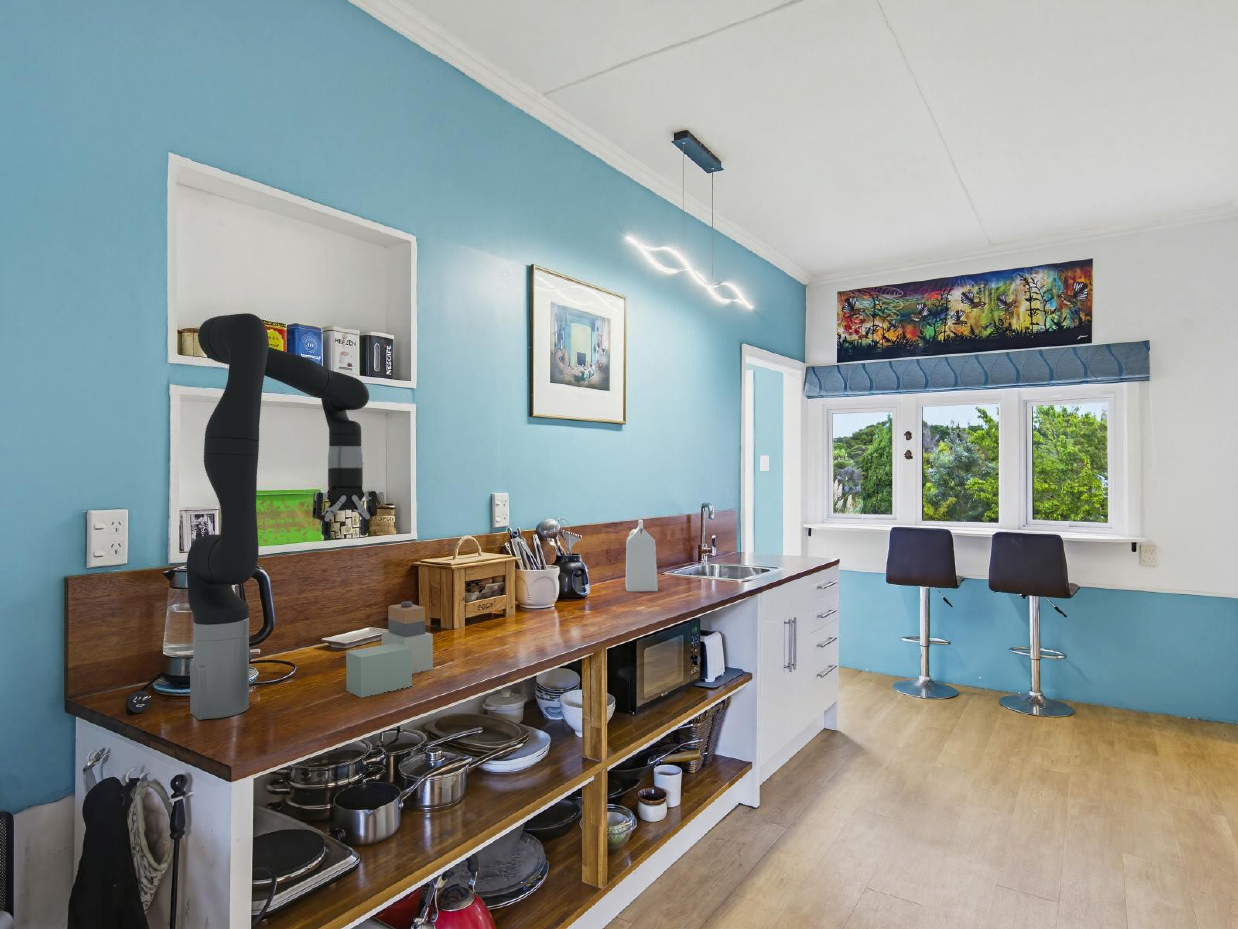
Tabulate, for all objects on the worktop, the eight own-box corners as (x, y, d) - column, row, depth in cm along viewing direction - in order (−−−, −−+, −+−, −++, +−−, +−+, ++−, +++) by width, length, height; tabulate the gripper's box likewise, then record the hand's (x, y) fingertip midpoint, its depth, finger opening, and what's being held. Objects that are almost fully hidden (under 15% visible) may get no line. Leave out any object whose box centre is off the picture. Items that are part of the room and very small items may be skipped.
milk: (657, 591, 277) (657, 521, 277) (627, 591, 276) (626, 521, 276) (654, 586, 289) (654, 519, 289) (625, 586, 288) (624, 519, 288)
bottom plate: (388, 631, 171) (388, 618, 171) (408, 628, 175) (408, 615, 175) (405, 637, 165) (405, 623, 165) (425, 633, 169) (425, 620, 169)
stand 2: (404, 675, 164) (404, 639, 164) (381, 666, 172) (381, 631, 172) (432, 669, 168) (432, 634, 168) (409, 660, 176) (409, 627, 176)
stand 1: (361, 697, 147) (361, 657, 147) (346, 690, 152) (346, 651, 153) (412, 686, 155) (411, 648, 155) (396, 679, 160) (396, 642, 160)
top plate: (388, 618, 171) (388, 601, 171) (408, 615, 175) (408, 598, 175) (404, 623, 165) (404, 606, 165) (425, 620, 169) (425, 603, 169)
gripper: (367, 466, 178) (368, 533, 178) (307, 466, 169) (308, 537, 168) (382, 466, 173) (382, 535, 173) (320, 466, 163) (321, 539, 163)
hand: (345, 536), depth 171 cm, fingers open, 8 cm apart
